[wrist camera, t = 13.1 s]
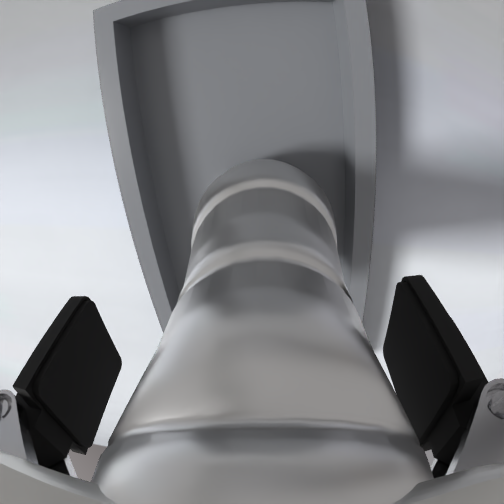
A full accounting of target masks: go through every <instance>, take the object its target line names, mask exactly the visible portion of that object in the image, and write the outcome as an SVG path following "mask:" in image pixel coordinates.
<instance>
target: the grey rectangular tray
mask: <svg viewBox="0 0 504 504" xmlns="http://www.w3.org/2000/svg"><path fill="white" fill-rule="evenodd" d="M93 18H94V32H95V44H96V54H97V63H98V71H99V79H100V87H101V94H102V100H103V107H104V113H105V119H106V125H107V130H108V136H109V141H110V146H111V151H112V156H113V161H114V165H115V170H116V175H117V179H118V183H119V188H120V192H121V196H122V200H123V204H124V208H125V212H126V216H127V220H128V223H129V227H130V231H131V234H132V238H133V241H134V245H135V248H136V252H137V255H138V259H139V262H140V265H141V269H142V272H143V275H144V278H145V281H146V284H147V287H148V290H149V294H150V297H151V300H152V302H153V305H154V308H155V311H156V314H157V317H158V320H159V323H160V325H161V328H162V331H163V333H164V331H165V328H166V326H167V324H168V321H169V319H170V316H171V314H172V312H173V310H174V308H175V307H176V304H177V301H178V298H179V295H180V293H181V291H182V289H183V286H184V282H185V277H186V273H187V268H188V264H189V259H190V255H191V238H192V230H193V223H194V217H195V213H196V210H197V207H198V204H199V201H200V199H201V198H202V196H203V194H204V193H205V191H206V190H207V188H208V187H209V186H210V185H211V184H212V183H213V182H214V181H215V180H216V179H217V178H218V177H220V176H221V175H223V174H224V173H225V172H227V171H228V170H230V169H231V168H233V167H234V166H237V165H239V164H242V163H244V162H247V161H252V160H257V159H273V160H277V161H282V162H285V163H288V164H290V165H292V166H294V167H296V168H298V169H300V170H301V171H303V172H304V173H305V174H307V175H308V176H309V177H311V178H312V179H313V180H314V181H315V182H316V183H317V184H318V185H319V186H320V187H321V189H322V190H323V191H324V193H325V195H326V197H327V198H328V200H329V202H330V205H331V208H332V212H333V215H334V220H335V226H336V234H337V251H338V255H339V260H340V264H341V268H342V273H343V277H344V282H345V285H346V287H347V289H348V292H349V294H350V296H351V298H352V301H353V305H354V307H355V309H356V310H357V312H358V315H359V317H360V319H361V322H363V315H364V309H365V301H366V294H367V286H368V278H369V269H370V259H371V248H372V236H373V223H374V207H375V184H376V108H375V86H374V71H373V58H372V47H371V38H370V29H369V21H368V13H367V6H366V0H121V1H118V2H115V3H112V4H109V5H106V6H104V7H101V8H98V9H96V10H93Z"/></svg>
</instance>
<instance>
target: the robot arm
mask: <svg viewBox="0 0 504 504" xmlns="http://www.w3.org/2000/svg"><path fill="white" fill-rule="evenodd" d="M383 354H384V359H385V362H386V364H387V367H388V370H389V373H390V376H391V379H392V382H393V385H394V388H395V391H396V394H397V397H398V399H399V401H400V403H401V405H402V407H403V409H404V411H405V413H406V415H407V417H408V419H409V421H410V423H411V425H412V427H413V429H414V431H415V433H416V435H417V438H418V440H419V442H420V447H422V448H423V449H424V451H427V450H430V449H432V452H433V456H434V458H435V459H434V461H433V463H432V465H431V467H430V468H431V471H432V474H433V477H434V479H430V480H427V481H423V482H420V483H417V484H416V486H415V487H414V488H413V489H412V490H411V491H410V492H409V493H407V494H406V495H405V496H404V497H403V498H401V499H400V500H398V501H396V502H395V503H393V504H504V379H502V378H501V379H494V380H492V381H490V382H488V381H487V379H486V377H485V375H484V373H483V371H482V369H481V368H480V366H479V364H478V362H477V360H476V358H475V357H474V355H473V353H472V351H471V350H470V348H469V346H468V344H467V343H466V341H465V339H464V338H463V336H462V334H461V333H460V331H459V329H458V328H457V326H456V324H455V323H454V321H453V320H452V318H451V317H450V316H449V315H448V313H447V311H446V310H445V308H444V307H443V305H442V304H441V302H440V301H439V299H438V298H437V296H436V294H435V293H434V291H433V290H432V289H431V287H430V286H429V284H428V283H427V281H426V280H425V278H424V277H423V276H422V275H416V276H407V277H403V279H402V281H401V282H399V283H397V285H396V290H395V296H394V301H393V306H392V311H391V315H390V320H389V325H388V329H387V333H386V338H385V342H384V346H383ZM121 366H122V361H121V357H120V355H119V353H118V351H117V349H116V347H115V345H114V343H113V341H112V339H111V337H110V335H109V333H108V331H107V329H106V327H105V325H104V323H103V321H102V318H101V316H100V314H99V312H98V310H97V307H96V305H95V303H94V302H93V301H91V300H90V298H89V297H86V296H73V297H71V298H70V299H69V300H68V302H67V303H66V304H65V306H64V307H63V309H62V310H61V311H60V313H59V314H58V316H57V317H56V319H55V320H54V321H53V323H52V324H51V326H50V327H49V329H48V330H47V332H46V333H45V335H44V336H43V338H42V339H41V341H40V342H39V344H38V345H37V347H36V348H35V350H34V352H33V353H32V355H31V356H30V358H29V360H28V361H27V363H26V364H25V366H24V368H23V369H22V371H21V373H20V374H19V376H18V378H17V379H16V381H15V383H14V385H13V388H14V389H15V390H16V391H17V395H16V396H15V395H14V394H13V393H12V392H11V391H9V390H0V504H117V503H115V502H114V501H112V500H111V499H109V498H108V497H106V496H105V495H104V493H103V492H102V491H101V490H100V488H99V485H98V484H95V483H92V482H88V481H85V480H82V479H78V478H77V475H76V473H75V470H74V468H73V465H72V463H71V460H70V458H69V455H68V453H69V450H70V449H71V450H72V451H73V452H77V453H81V454H84V455H86V452H87V449H88V448H89V447H91V446H92V444H93V441H94V438H95V436H96V433H97V430H98V427H99V424H100V422H101V419H102V416H103V413H104V411H105V408H106V405H107V403H108V400H109V397H110V395H111V392H112V390H113V387H114V385H115V382H116V380H117V377H118V375H119V372H120V370H121Z"/></svg>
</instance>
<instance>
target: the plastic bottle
mask: <svg viewBox="0 0 504 504" xmlns="http://www.w3.org/2000/svg"><path fill="white" fill-rule="evenodd" d="M430 479H434V477H433V474H432V471H431V468H430V465H429V462H428V459H427V457H426V454H425V451H424V449H423V448H422V447H420V442H419V440H418V438H417V435H416V433H415V431H414V429H413V427H412V425H411V423H410V421H409V419H408V417H407V415H406V413H405V411H404V409H403V407H402V405H401V403H400V401H399V399H398V397H397V395H396V393H395V391H394V389H393V387H392V385H391V383H390V381H389V379H388V378H387V376H386V374H385V372H384V370H383V368H382V366H381V364H380V362H379V361H378V359H377V357H376V355H375V353H374V351H373V349H372V346H371V344H370V341H369V339H368V336H367V334H366V331H365V329H364V327H363V324H362V322H361V319H360V317H359V315H358V312H357V310H356V309H355V307H354V305H353V301H352V298H351V296H350V294H349V292H348V289H347V287H346V285H345V282H344V277H343V273H342V268H341V264H340V260H339V255H338V251H337V234H336V226H335V220H334V215H333V212H332V208H331V205H330V202H329V200H328V198H327V197H326V195H325V193H324V191H323V190H322V189H321V187H320V186H319V185H318V184H317V183H316V182H315V181H314V180H313V179H312V178H311V177H309V176H308V175H307V174H305V173H304V172H303V171H301V170H300V169H298V168H296V167H294V166H292V165H290V164H288V163H285V162H282V161H277V160H273V159H257V160H252V161H247V162H244V163H242V164H239V165H237V166H234V167H233V168H231V169H230V170H228V171H227V172H225V173H224V174H223V175H221V176H220V177H218V178H217V179H216V180H215V181H214V182H213V183H212V184H211V185H210V186H209V187H208V188H207V190H206V191H205V193H204V194H203V196H202V198H201V199H200V201H199V204H198V207H197V210H196V213H195V217H194V223H193V230H192V238H191V255H190V259H189V264H188V268H187V273H186V277H185V282H184V286H183V289H182V291H181V293H180V295H179V298H178V301H177V304H176V307H175V308H174V310H173V312H172V314H171V316H170V319H169V321H168V324H167V326H166V328H165V331H164V333H163V336H162V338H161V341H160V343H159V346H158V348H157V350H156V352H155V354H154V356H153V358H152V360H151V361H150V363H149V365H148V367H147V369H146V371H145V372H144V374H143V376H142V378H141V380H140V382H139V384H138V385H137V387H136V389H135V391H134V393H133V395H132V397H131V399H130V400H129V402H128V404H127V406H126V408H125V410H124V412H123V414H122V416H121V418H120V420H119V421H118V423H117V425H116V427H115V429H114V431H113V433H112V435H111V437H110V439H109V441H108V447H107V448H106V449H105V451H104V452H103V453H102V454H101V456H100V458H99V461H98V464H97V466H96V469H95V472H94V475H93V477H92V480H91V482H92V483H95V484H98V485H99V488H100V490H101V491H102V492H103V493H104V495H105V496H106V497H108V498H109V499H111V500H112V501H114V502H115V503H117V504H393V503H395V502H396V501H398V500H400V499H401V498H403V497H404V496H405V495H406V494H407V493H409V492H410V491H411V490H412V489H413V488H414V487H415V486H416V484H417V483H420V482H423V481H427V480H430Z"/></svg>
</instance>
